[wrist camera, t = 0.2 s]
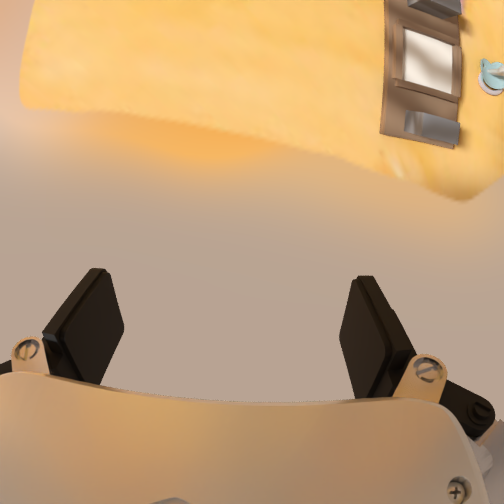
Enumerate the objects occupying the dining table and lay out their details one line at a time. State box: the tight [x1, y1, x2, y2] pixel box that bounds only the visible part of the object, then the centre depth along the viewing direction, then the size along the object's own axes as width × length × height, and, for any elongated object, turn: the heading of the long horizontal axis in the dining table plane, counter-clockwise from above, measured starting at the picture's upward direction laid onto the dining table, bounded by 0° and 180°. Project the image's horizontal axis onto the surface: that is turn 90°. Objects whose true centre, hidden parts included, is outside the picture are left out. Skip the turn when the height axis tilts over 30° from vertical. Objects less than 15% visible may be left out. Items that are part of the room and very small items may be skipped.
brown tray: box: [380, 0, 462, 149], centre depth 28 cm, size 24×12×6 cm, turn 178°
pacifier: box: [478, 59, 504, 95], centre depth 27 cm, size 7×6×6 cm
